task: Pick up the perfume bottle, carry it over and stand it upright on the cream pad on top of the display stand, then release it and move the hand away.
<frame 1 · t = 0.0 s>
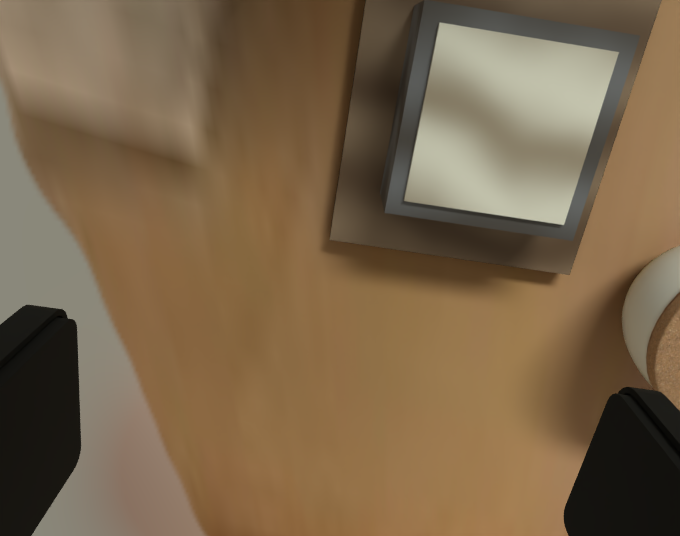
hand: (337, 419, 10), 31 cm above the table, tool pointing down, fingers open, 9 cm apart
display stand: (479, 116, 38), on the table
lidded bowl: (675, 291, 43), on the table
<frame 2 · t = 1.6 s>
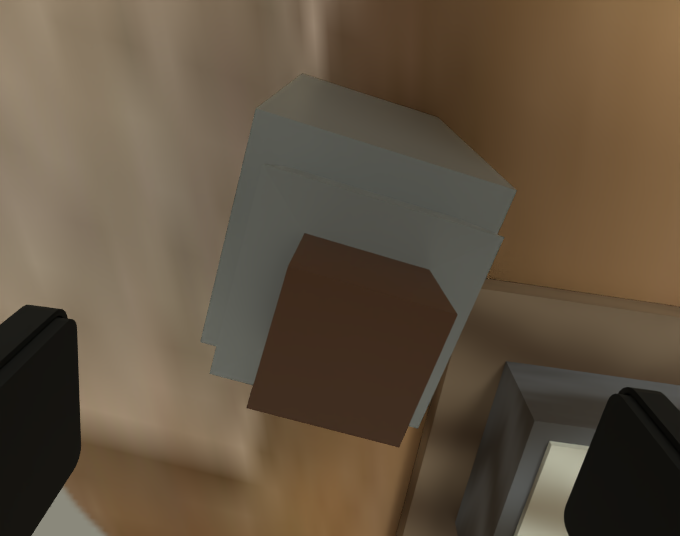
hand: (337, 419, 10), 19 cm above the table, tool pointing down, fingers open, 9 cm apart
display stand: (568, 443, 34), on the table
perfume bottle: (349, 162, 27), on the table
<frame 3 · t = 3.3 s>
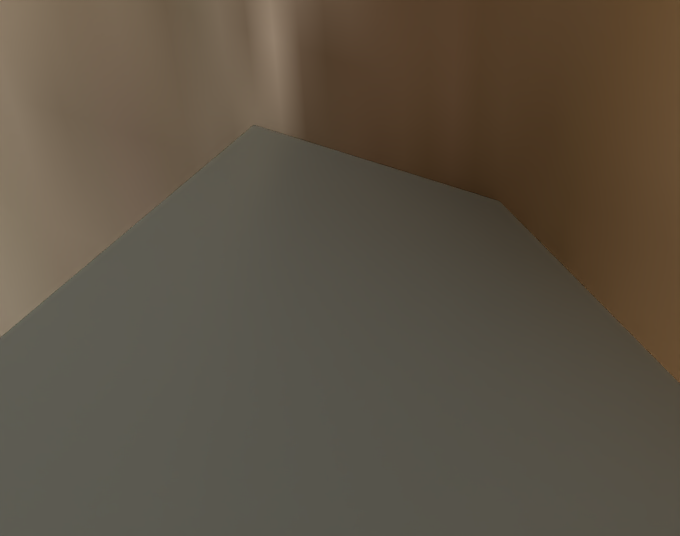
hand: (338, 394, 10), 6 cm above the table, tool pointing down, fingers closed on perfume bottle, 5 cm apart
perfume bottle: (341, 274, 16), on the table, touching gripper
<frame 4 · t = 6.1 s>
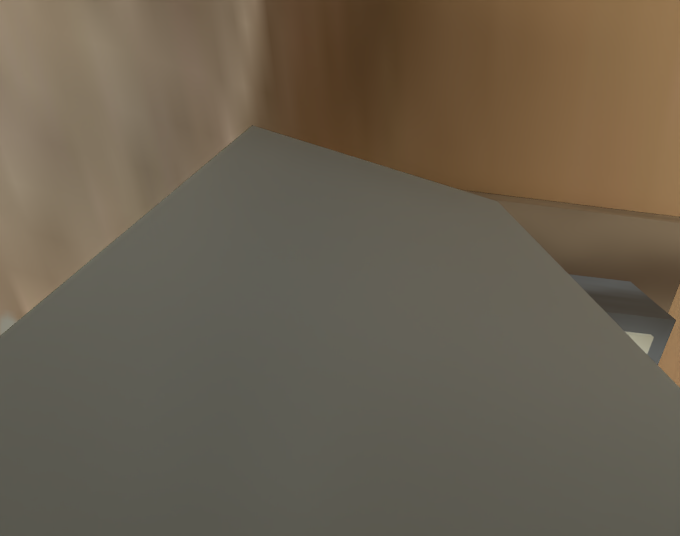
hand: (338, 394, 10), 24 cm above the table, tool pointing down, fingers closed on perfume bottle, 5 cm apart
display stand: (504, 342, 37), on the table
perfume bottle: (340, 275, 16), point 18 cm above the table, touching gripper
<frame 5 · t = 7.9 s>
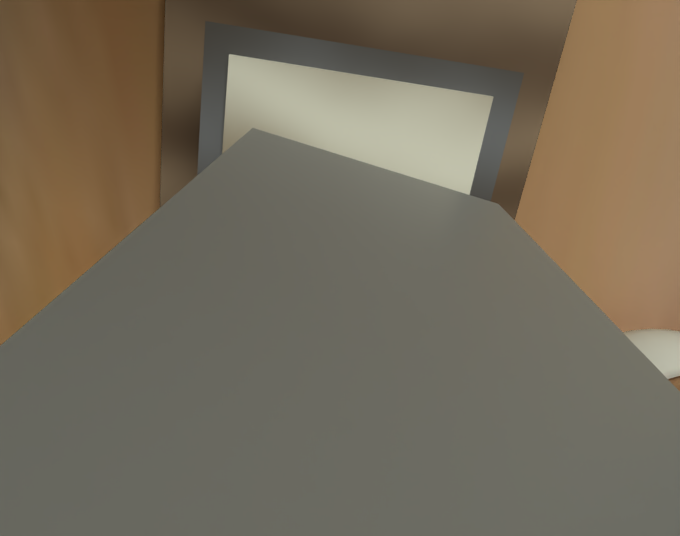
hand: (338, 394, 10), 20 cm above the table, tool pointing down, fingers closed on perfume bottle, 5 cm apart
display stand: (343, 169, 29), on the table
perfume bottle: (340, 277, 16), point 14 cm above the table, touching gripper
lidded bowl: (613, 384, 34), on the table
when the fingers open (14 cm above the table, at t = 9.3 s): perfume bottle drops 1 cm, resting on display stand.
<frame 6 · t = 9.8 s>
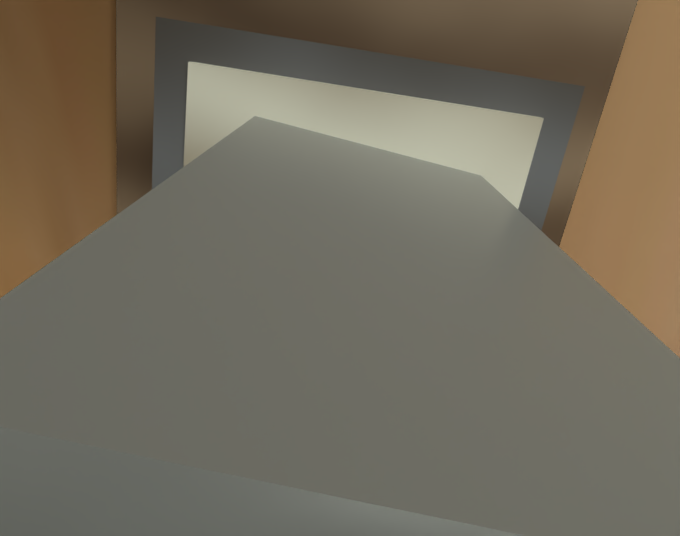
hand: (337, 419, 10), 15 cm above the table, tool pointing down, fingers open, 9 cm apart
display stand: (342, 200, 23), on the table
perfume bottle: (340, 250, 17), point 7 cm above the table, touching display stand
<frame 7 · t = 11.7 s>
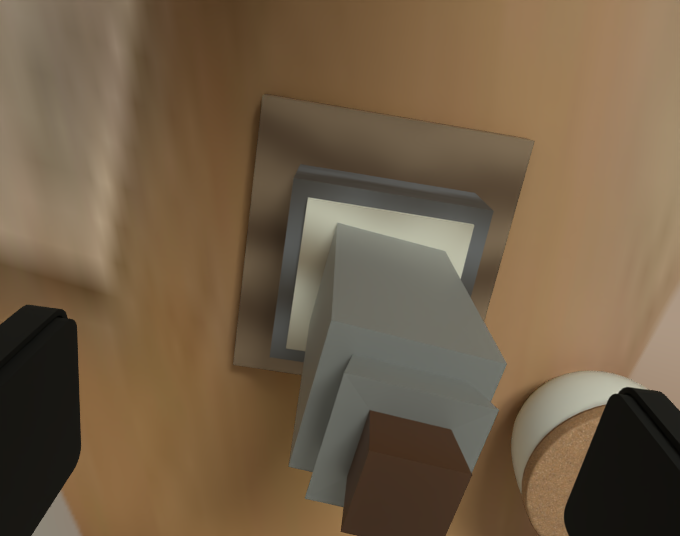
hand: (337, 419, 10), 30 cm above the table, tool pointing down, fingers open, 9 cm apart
display stand: (371, 254, 40), on the table
perfume bottle: (375, 286, 34), point 7 cm above the table, touching display stand
lidded bowl: (568, 410, 45), on the table
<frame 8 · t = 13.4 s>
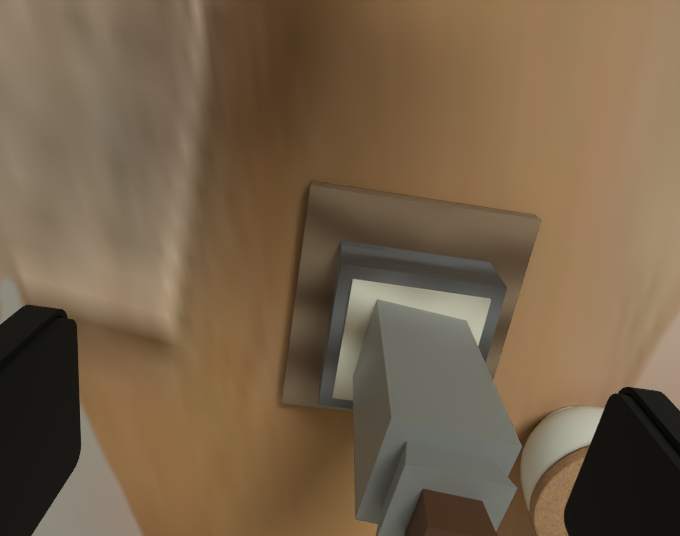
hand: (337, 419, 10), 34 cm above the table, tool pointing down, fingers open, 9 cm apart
display stand: (400, 310, 47), on the table
perfume bottle: (408, 348, 41), point 7 cm above the table, touching display stand
lidded bowl: (569, 435, 52), on the table
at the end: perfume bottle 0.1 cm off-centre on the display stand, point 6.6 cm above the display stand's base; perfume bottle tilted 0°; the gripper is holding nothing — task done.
